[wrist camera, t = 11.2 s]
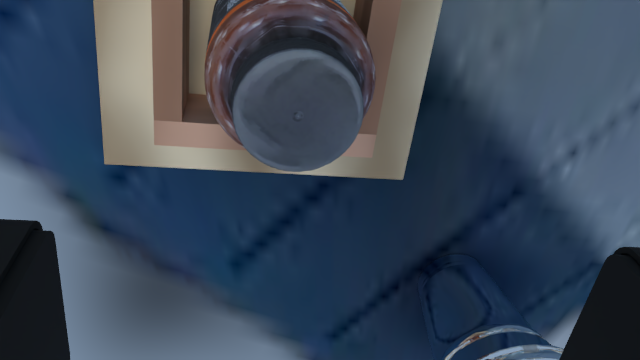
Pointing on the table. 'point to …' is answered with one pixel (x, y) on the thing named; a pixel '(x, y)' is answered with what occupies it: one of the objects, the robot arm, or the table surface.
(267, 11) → the supplement bottle
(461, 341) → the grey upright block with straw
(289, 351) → the table surface
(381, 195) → the table surface
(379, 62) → the bottle holder
